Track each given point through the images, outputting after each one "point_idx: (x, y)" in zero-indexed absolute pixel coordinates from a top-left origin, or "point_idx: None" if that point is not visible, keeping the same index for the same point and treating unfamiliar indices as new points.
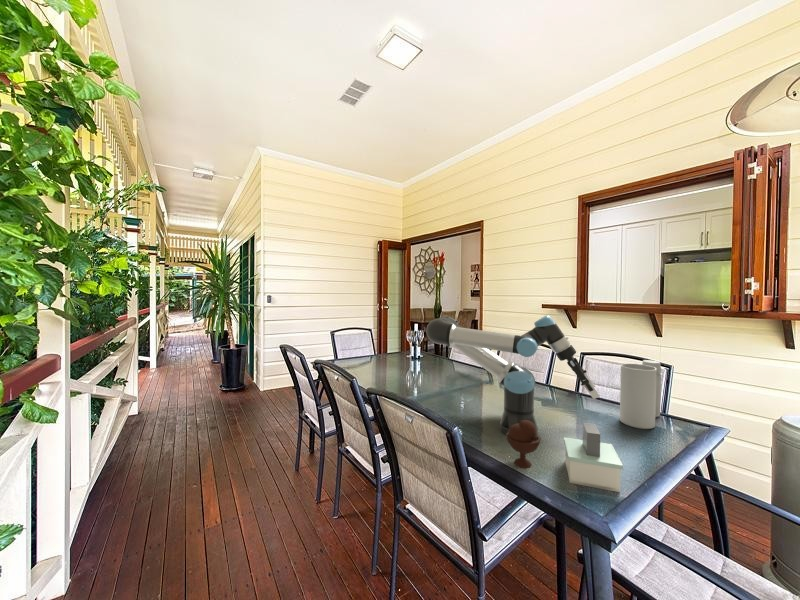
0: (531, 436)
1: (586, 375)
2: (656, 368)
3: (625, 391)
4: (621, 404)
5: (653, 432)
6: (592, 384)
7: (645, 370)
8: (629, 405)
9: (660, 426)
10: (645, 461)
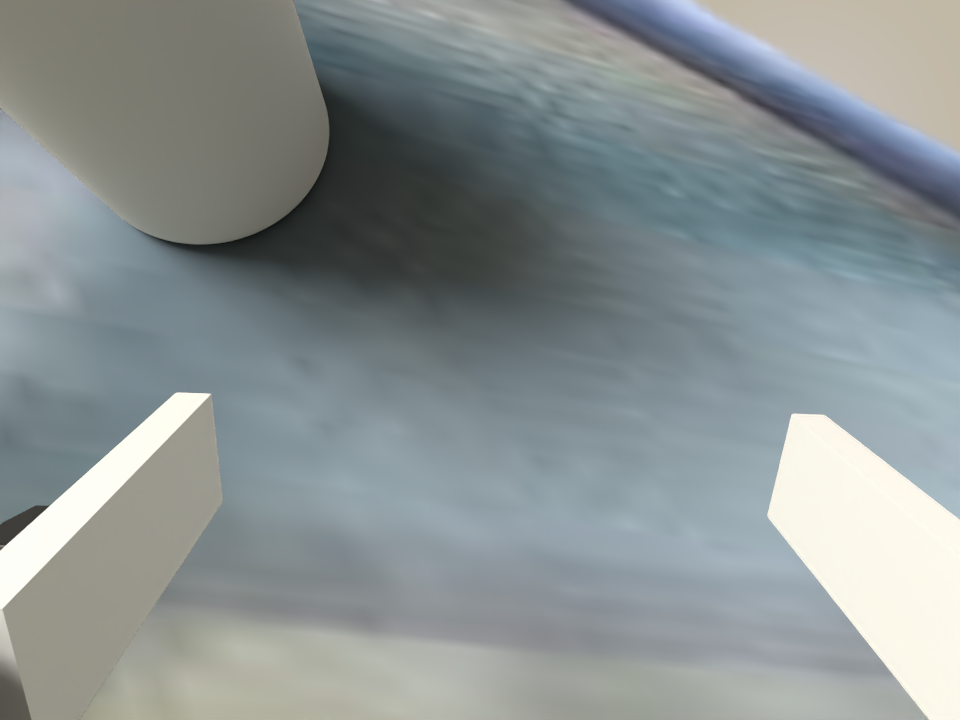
0: None
1: (49, 584)
2: None
3: (132, 9)
4: (154, 160)
5: (366, 87)
6: (189, 443)
7: None
8: (243, 97)
9: None
10: (894, 260)
